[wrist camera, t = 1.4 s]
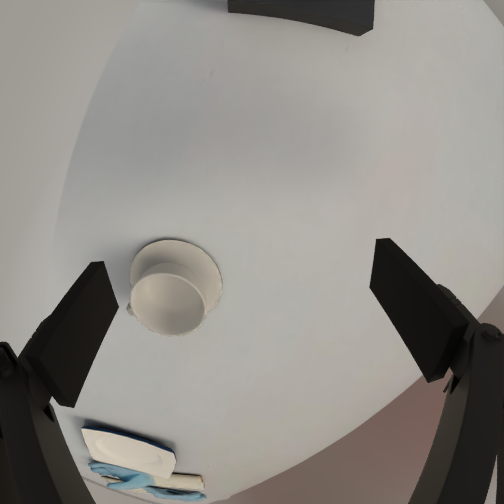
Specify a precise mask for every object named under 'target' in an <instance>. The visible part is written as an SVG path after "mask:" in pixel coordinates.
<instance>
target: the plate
mask: <svg viewBox="0 0 504 504" xmlns="http://www.w3.org/2000/svg"><path fill="white" fill-rule="evenodd" d="M81 429H82V433H83V437H84V440H85V443H86V445H87V447H88V449H89V451H90V453H91V455H92V457H93V459H94V460H97V461H101V462H105V463H109V464H113V465H117V466H121V467H125V468H129V469H133V470H136V471H140V472H144V473H148V474H151V475H155V476H159V477H162V478H166V479H168V478H169V477H170V475H171V474H172V472H173V470H174V468H175V464H176V457H175V453H174V451H173V450H172V449H170V448H168V447H165V446H162V445H159V444H156V443H154V442H151V441H148V440H146V439H142V438H139V437H136V436H133V435H130V434H125V433H121V432H116V431H112V430H108V429H102V428H97V427H92V426H84V427H82V428H81Z"/></svg>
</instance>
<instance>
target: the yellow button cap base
mask: <svg viewBox="0 0 504 504" xmlns="http://www.w3.org/2000/svg"><path fill="white" fill-rule="evenodd" d="M374 3H375V0H228V12H230V13H243V14H253V15H262V16H269V17H276V18H283V19H289V20H294V21H300V22H305V23H309V24H314V25H319V26H323V27H327V28H331V29H335V30H339V31H342V32H346V33H349V34H353V35H356V36H361V35H363V34H364V33H366V32H368V31H370V30H372V29H373V22H374Z"/></svg>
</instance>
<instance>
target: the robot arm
mask: <svg viewBox="0 0 504 504" xmlns="http://www.w3.org/2000/svg"><path fill="white" fill-rule="evenodd" d="M369 288H370V289H371V291H372V292H373V294H374V295H375V297H376V298H377V300H378V301H379V303H380V304H381V306H382V308H383V309H384V311H385V312H386V314H387V315H388V317H389V318H390V320H391V322H392V323H393V325H394V326H395V328H396V330H397V331H398V333H399V334H400V336H401V338H402V339H403V341H404V343H405V344H406V346H407V348H408V349H409V351H410V353H411V354H412V356H413V358H414V359H415V361H416V363H417V365H418V366H419V368H420V370H421V372H422V373H423V375H424V377H425V378H426V380H427V382H428V383H430V382H432V381H435V380H438V379H441V378H444V376H445V373H446V372H447V370H448V368H449V367H450V369H451V370H452V372H453V375H452V377H451V378H450V380H449V382H448V383H447V386H446V387H445V389H444V391H443V392H446V391H447V389H448V391H447V395H446V399H445V403H444V407H443V411H442V415H441V418H440V422H439V425H438V428H437V432H436V435H435V438H434V441H433V444H432V447H431V450H430V453H429V455H428V458H427V461H426V463H425V466H424V468H423V471H422V474H421V476H420V478H419V481H418V483H417V485H416V488H415V490H414V492H413V494H412V497H411V499H410V501H409V503H408V504H484V503H485V500H486V496H487V493H488V489H489V486H490V482H491V477H492V473H493V469H494V465H495V460H496V455H497V493H496V504H504V334H502V332H501V331H500V330H499V329H498V328H496V327H495V326H493V325H491V324H488V323H482V324H480V323H479V322H478V321H477V320H476V318H475V317H474V316H473V315H472V314H471V313H470V312H469V311H468V309H467V308H466V307H465V306H464V305H463V304H462V303H461V302H460V301H459V300H458V299H456V296H455V295H454V294H453V293H452V292H451V291H450V290H449V289H447V288H446V287H444V286H442V285H441V284H437V285H436V284H435V283H434V282H433V281H432V280H431V279H430V277H429V276H428V275H427V274H426V273H425V272H424V271H423V270H422V269H421V268H420V267H419V266H418V265H417V264H416V263H415V262H414V261H413V260H412V259H411V258H410V257H409V256H408V255H407V254H406V253H405V252H404V251H403V250H402V249H401V248H400V247H399V246H398V245H397V244H395V243H394V242H393V241H392V240H391V239H390V238H383V239H376V245H375V253H374V260H373V267H372V274H371V281H370V287H369ZM118 308H119V306H118V303H117V300H116V297H115V294H114V292H113V289H112V286H111V283H110V280H109V276H108V273H107V270H106V267H105V264H104V261H98V262H91V263H90V264H89V265H88V266H87V268H86V269H85V270H84V271H83V273H82V274H81V275H80V276H79V278H78V279H77V280H76V282H75V283H74V284H73V285H72V287H71V288H70V289H69V291H68V292H67V293H66V295H65V296H64V297H63V299H62V300H61V301H60V303H59V304H58V305H57V307H56V308H55V310H54V311H53V312H52V314H51V315H49V316H48V317H47V318H46V319H44V320H43V322H41V323H40V325H39V327H38V328H37V329H36V332H34V334H33V335H32V338H30V340H29V341H28V342H27V344H26V346H25V347H24V349H23V350H22V352H21V353H20V355H19V356H18V358H17V356H16V355H15V353H14V351H13V350H12V348H11V347H10V345H9V344H8V343H7V342H0V504H96V503H95V501H94V500H93V498H92V496H91V494H90V492H89V490H88V489H87V487H86V485H85V483H84V481H83V479H82V477H81V475H80V473H79V471H78V468H77V466H76V464H75V462H74V460H73V458H72V455H71V453H70V451H69V448H68V446H67V444H66V441H65V439H64V436H63V434H62V431H61V428H60V426H59V423H58V420H57V417H56V414H55V412H54V409H53V407H52V405H51V404H50V402H49V401H50V399H51V397H52V396H53V398H54V399H55V400H56V402H57V403H58V404H59V405H61V406H66V407H71V408H74V407H75V404H76V402H77V399H78V397H79V394H80V392H81V389H82V387H83V384H84V382H85V380H86V377H87V375H88V373H89V370H90V368H91V366H92V363H93V361H94V359H95V357H96V354H97V352H98V350H99V348H100V345H101V343H102V341H103V339H104V337H105V335H106V333H107V331H108V328H109V326H110V324H111V322H112V320H113V318H114V316H115V314H116V312H117V310H118Z"/></svg>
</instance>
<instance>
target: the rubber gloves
mask: <svg viewBox="0 0 504 504" xmlns="http://www.w3.org/2000/svg"><path fill="white" fill-rule="evenodd" d="M88 465H89V466H90V467H91V471H92V472H95V473H99V474H100V475H112V476H114V477H115V476H117V477H119V479H120V480H116V479H112V478H107V477H104V476H101V478H102V479H106V480H107V481H108V482H109V483H108V484H107V487H108V488H111V489H122V490H127V491H133V492H140V493H150V494H153V495H154V496H155V497H158V498H163V499H174V500H182V501H200V500H203V499H205V498H206V496H205V495H201V493H199V492H194V493H190V494H185V493H182V492H178V491H173V490H169V489H159V488H153V487H148V486H149V485H150V486H166V487H177V488H190V489H204V483H203V482H202V478H201V476H191V475H180V474H171V475H170V477H169V478H168V479H166V478H162V477H159V476H155V475H151V474H148V473H144V472H140V471H136V470H133V469H129V468H125V467H121V466H117V465H113V464H109V463H101V462H91V463H88ZM121 480H122V481H121Z"/></svg>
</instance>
